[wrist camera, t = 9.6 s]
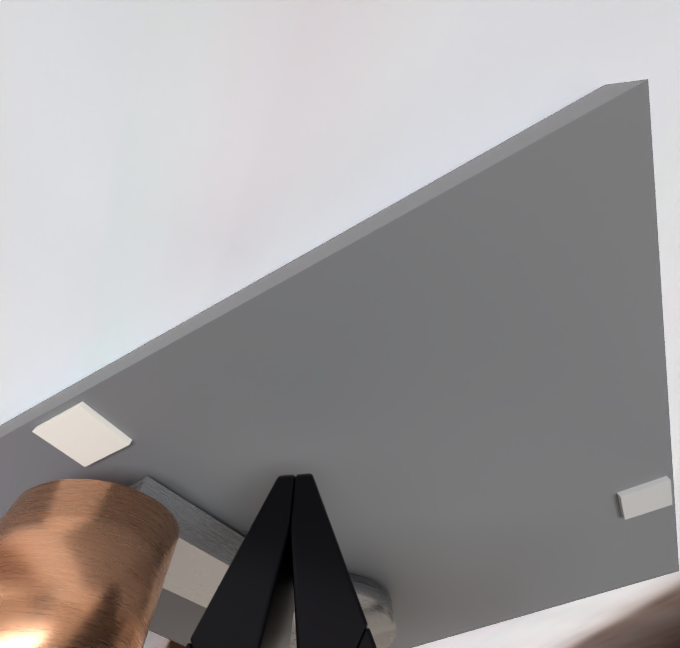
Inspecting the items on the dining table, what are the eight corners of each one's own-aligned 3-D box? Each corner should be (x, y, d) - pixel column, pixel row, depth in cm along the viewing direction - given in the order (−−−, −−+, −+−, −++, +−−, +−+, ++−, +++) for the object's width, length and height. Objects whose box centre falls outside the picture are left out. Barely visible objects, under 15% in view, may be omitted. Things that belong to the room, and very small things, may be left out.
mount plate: (659, 546, 16) (682, 574, 15) (276, 662, 20) (274, 691, 19) (605, 85, 7) (655, 78, 6) (-89, 475, 11) (-130, 511, 10)
